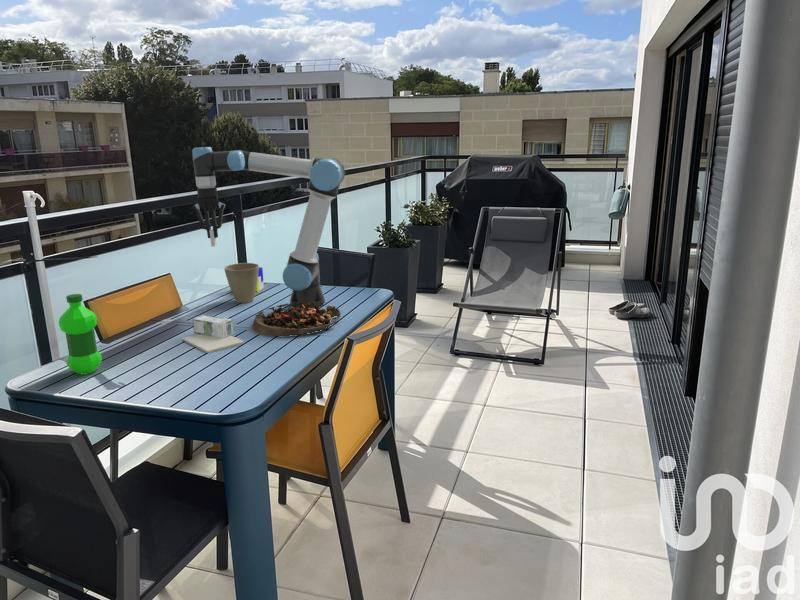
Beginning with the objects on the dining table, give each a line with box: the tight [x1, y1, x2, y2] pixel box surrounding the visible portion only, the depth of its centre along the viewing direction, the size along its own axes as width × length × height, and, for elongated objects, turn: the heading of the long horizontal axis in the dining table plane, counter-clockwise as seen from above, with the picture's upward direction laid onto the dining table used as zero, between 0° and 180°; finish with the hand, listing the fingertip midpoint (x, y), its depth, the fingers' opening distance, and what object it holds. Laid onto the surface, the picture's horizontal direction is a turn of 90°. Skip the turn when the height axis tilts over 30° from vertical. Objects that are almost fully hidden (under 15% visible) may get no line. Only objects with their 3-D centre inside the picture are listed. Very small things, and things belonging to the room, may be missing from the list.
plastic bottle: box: [58, 293, 103, 375], centre depth 191 cm, size 10×10×25 cm
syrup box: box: [192, 314, 234, 338], centre depth 226 cm, size 6×6×14 cm
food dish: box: [251, 302, 342, 337], centre depth 239 cm, size 35×33×8 cm
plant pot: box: [223, 262, 260, 304], centre depth 272 cm, size 15×15×16 cm
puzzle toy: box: [255, 266, 265, 293], centre depth 293 cm, size 10×10×10 cm
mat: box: [181, 333, 245, 354], centre depth 220 cm, size 20×14×1 cm
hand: (214, 245), depth 247 cm, fingers closed
